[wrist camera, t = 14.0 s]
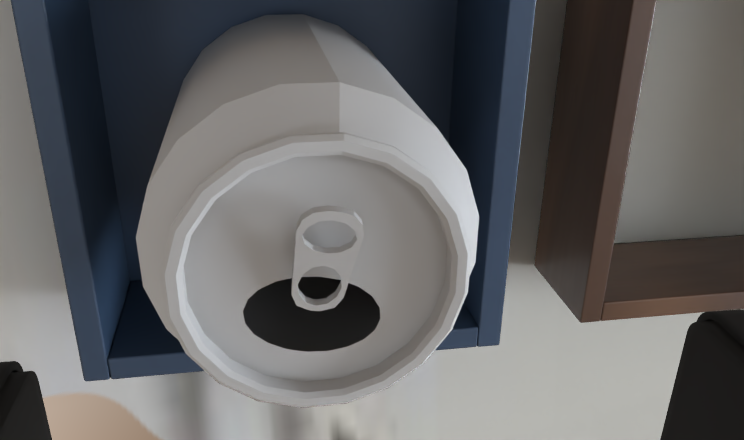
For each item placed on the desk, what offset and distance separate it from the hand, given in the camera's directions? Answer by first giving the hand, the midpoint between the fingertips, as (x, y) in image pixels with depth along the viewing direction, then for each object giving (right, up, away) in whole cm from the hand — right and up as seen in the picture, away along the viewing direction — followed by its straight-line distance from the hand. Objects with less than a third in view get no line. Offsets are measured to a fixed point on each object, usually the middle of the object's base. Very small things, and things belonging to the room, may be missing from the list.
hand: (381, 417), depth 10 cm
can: (-3, +6, +15) cm, 16 cm away
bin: (-3, +7, +15) cm, 17 cm away
